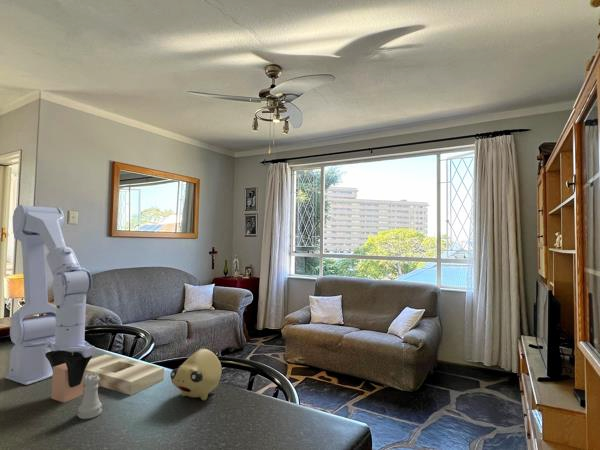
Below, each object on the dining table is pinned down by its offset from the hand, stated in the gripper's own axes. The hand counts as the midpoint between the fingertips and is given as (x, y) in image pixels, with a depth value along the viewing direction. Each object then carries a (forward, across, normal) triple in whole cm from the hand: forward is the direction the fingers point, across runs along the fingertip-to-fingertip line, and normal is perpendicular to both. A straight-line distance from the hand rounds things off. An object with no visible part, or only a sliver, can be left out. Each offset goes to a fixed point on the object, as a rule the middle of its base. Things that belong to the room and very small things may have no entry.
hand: (68, 383), depth 81 cm
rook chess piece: (+3, +12, -3) cm, 13 cm away
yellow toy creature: (+3, +26, +13) cm, 29 cm away
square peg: (+3, 0, 0) cm, 3 cm away
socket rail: (+3, +1, +12) cm, 12 cm away
